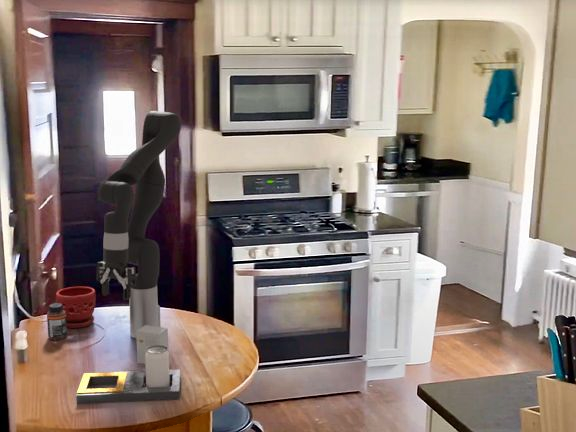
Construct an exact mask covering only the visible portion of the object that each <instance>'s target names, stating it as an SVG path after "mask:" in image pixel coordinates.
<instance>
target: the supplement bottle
mask: <svg viewBox="0 0 576 432" xmlns="http://www.w3.org/2000/svg"><path fill="white" fill-rule="evenodd" d="M48 306H49V311H47V313H46V323H47V336H48V339H49V340H51V341H60V340H63V339H65V338H66V337H67V335H68V330H67V328H68V327H67V326H66V312H65V311H64V310H63V309H62V304H60V303H57V302H56V303H55V302H54V303H51V304H49V305H48Z"/></svg>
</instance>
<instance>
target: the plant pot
mask: <svg viewBox="0 0 576 432" xmlns="http://www.w3.org/2000/svg"><path fill="white" fill-rule="evenodd" d="M55 301H56V303H60V304H62V309H63V310H64V311H65V312H66V326H67V328H70V329H71V328H73V329H76V328H77V329H78V328H80V329H81V328H83V327H86V326H89V325H91V324H92V323H93V322H94V321H95V316H94V315H93V314H94V312H95V309H96V290H95V289H94V288H93V287H90V286H70V287H66V288H62V289H58V291H57V292H56V293H55Z"/></svg>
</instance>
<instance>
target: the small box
mask: <svg viewBox="0 0 576 432" xmlns="http://www.w3.org/2000/svg"><path fill="white" fill-rule="evenodd" d="M135 339H136V355H137V356H136V360H137V364H142V365H146V360H145V355H146V352H147V348H148V347H150V346H154V345H162V346H166V347H167V351H168V352H169V329H168V327H155V326H148V325H145V326H143V327H142V328H140V329H139V330H137V331H136V338H135ZM169 353H170V352H169Z"/></svg>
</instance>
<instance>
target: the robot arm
mask: <svg viewBox="0 0 576 432" xmlns="http://www.w3.org/2000/svg"><path fill="white" fill-rule="evenodd" d="M142 127H143V128H142V140H141V146H140V147H138V148H136V149H135V150H134V151H132V152H131V153H130V154H128V156H127V157H126V158H125V160H124V161H123V162H122V164H121V166H120V167H119V168H118V169H116V170H115V171H114V172H112V174H110V175H109V176H108V177H106V178H105V179H104V180H103V182H101V184H100V185H99V188H98V192H97V193H98V198H99V200H100V201H101V202H102V203H103V204H107V205H115V206H116V207H115V210H114V211H110V212H107V213H105V214H104V220H103V221H104V222H103V223H104V226H103V228H104V230H103V231H104V234H103V239H102V240H103V257H102V258H103V259H102V261H98V262H97V263H96V274H95V276H96V277H95V278H96V279H95V280H96V282H97V281H98V282H99V283H100V284H101V294H102V296H104V297H106V296H108V295H110V283H109V282H110V280H111V279H114V280H117V281H118V283H120V284H121V285H122V287H123V288H122V300H123V301H128V300H129V304H128V306H129V331H130V337H132V338H133V339H136V331H137V330H139V329H140V328H142V327H143V326H145V325H148V326H155V327H161V325H162V324H161V306H160V305H159V303H158V299H159V298H158V279H159V276H160V260H161V257H160V256H161V255H160V254H161V253H160V252H161V251H160V247H159V244H158V243H157V242H156V241H155V240H153V239H150V238H146V237H145V235H146V231H147V226H148V224H149V221H150V220H151V218H152V217H153V215H154V214H155V213H156V211H157V210H158V208H159V207H160V206H161V204H162V201H163V198H164V193H165V186H166V178H165V177H166V176H165V174H164V171H163V169H162V165H161V163H160V160H159V156H160V155H161V154H162V153H163V152H164V151H165V150H166V149H167V148H168V147H169V146H170V145H171V144H172V143H173V142H175V140H176V139H177V138H178V137H179V135H180V132H181V129H182V122H181V118H180V116H179V115H178V114H176V113H173V112H168V111H167V112H166V111H159V110H151V111H148V113H147V114H146V115H145V118H144V120H143V126H142ZM132 186H135V190H134V187H132ZM130 213H131V214H130ZM129 216H130V217H129ZM129 218H130V219H129ZM128 264H130V265H134V266H133V267H128ZM135 266H137V272H136V267H135Z"/></svg>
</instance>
